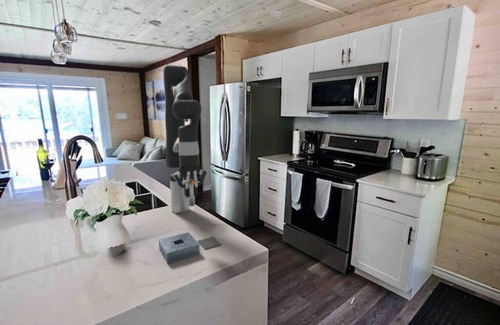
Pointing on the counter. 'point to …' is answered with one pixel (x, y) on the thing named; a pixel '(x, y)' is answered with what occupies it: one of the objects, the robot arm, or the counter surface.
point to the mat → (209, 242)
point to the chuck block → (178, 247)
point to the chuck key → (191, 193)
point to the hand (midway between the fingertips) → (191, 196)
